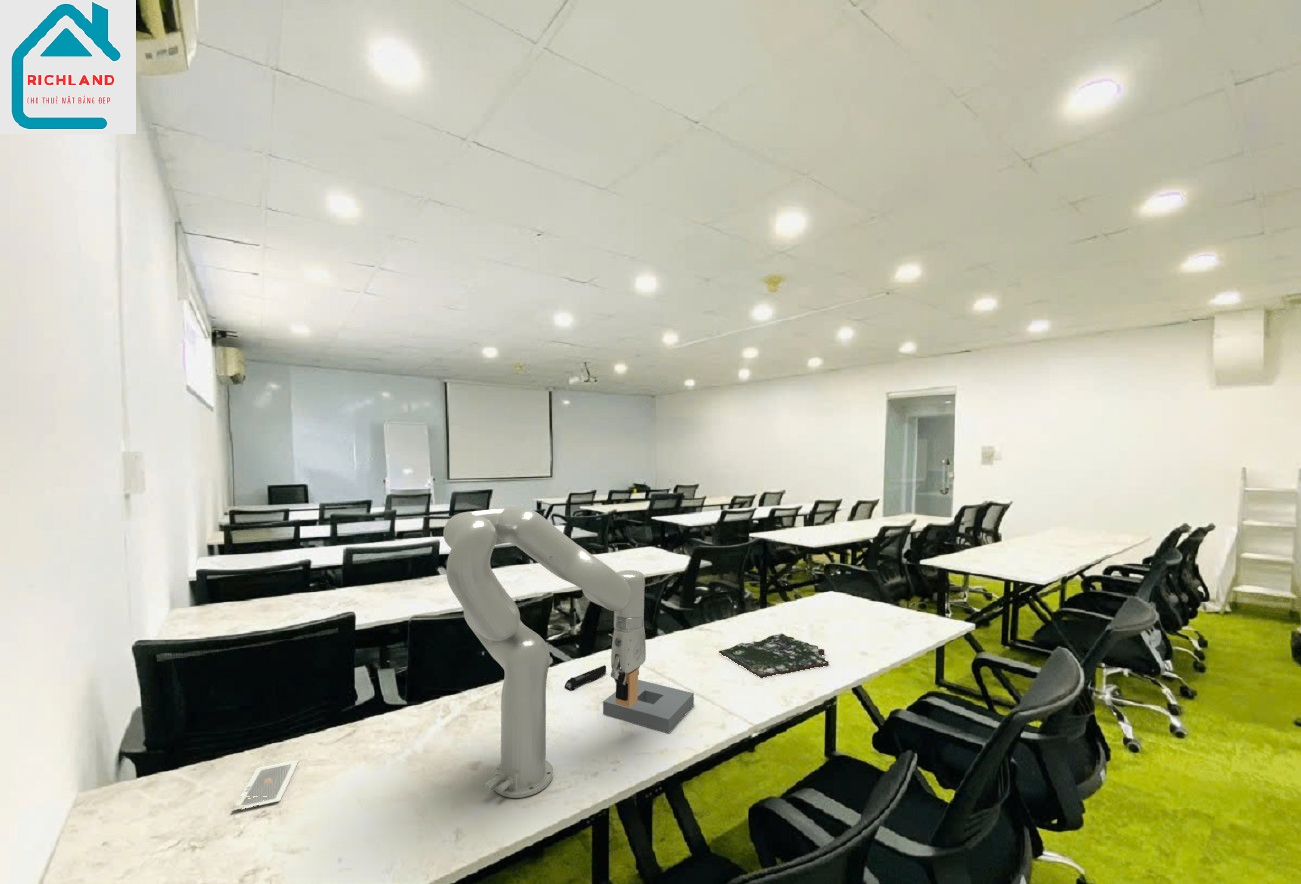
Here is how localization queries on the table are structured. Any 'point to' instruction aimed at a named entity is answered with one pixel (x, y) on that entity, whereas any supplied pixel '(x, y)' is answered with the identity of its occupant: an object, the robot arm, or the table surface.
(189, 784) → the table surface
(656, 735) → the table surface
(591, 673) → the electric trimmer
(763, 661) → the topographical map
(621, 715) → the socket board
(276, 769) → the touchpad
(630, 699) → the peg
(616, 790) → the table surface
